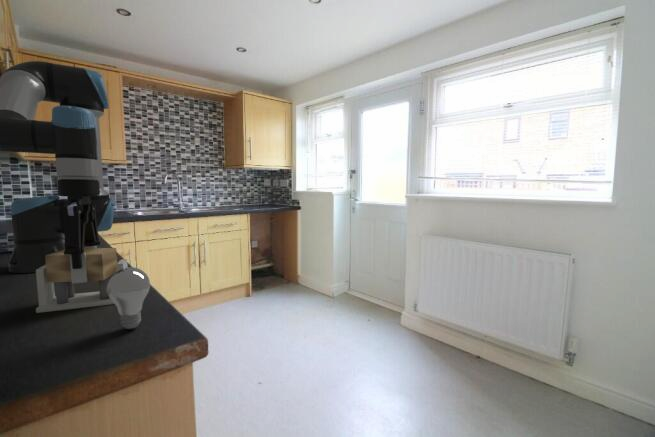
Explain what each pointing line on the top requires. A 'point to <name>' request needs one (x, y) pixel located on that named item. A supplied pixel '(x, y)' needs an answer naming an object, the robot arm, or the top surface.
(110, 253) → the wooden block
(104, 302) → the peg stand
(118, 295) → the light bulb
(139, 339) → the top surface
